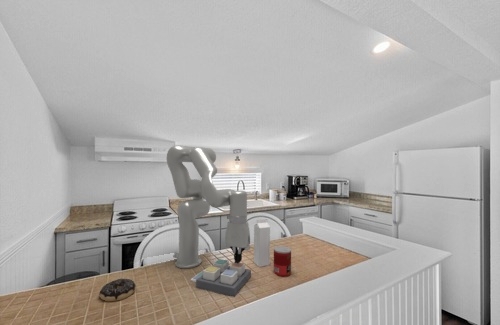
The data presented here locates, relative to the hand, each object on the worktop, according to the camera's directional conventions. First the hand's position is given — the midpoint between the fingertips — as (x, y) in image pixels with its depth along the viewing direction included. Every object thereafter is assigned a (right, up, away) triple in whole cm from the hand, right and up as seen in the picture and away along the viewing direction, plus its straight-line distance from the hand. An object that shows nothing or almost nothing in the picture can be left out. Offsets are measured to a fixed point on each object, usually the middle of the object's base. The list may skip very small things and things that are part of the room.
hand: (237, 261), depth 98 cm
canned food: (+20, -8, +6) cm, 23 cm away
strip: (-16, -7, +2) cm, 18 cm away
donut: (-44, -7, -12) cm, 47 cm away
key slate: (-3, -4, -8) cm, 9 cm away
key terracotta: (0, -5, 0) cm, 5 cm away
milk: (+11, -8, +16) cm, 21 cm away
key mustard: (-11, -4, -5) cm, 12 cm away
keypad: (-5, -7, -2) cm, 9 cm away
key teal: (-8, -5, +3) cm, 9 cm away
